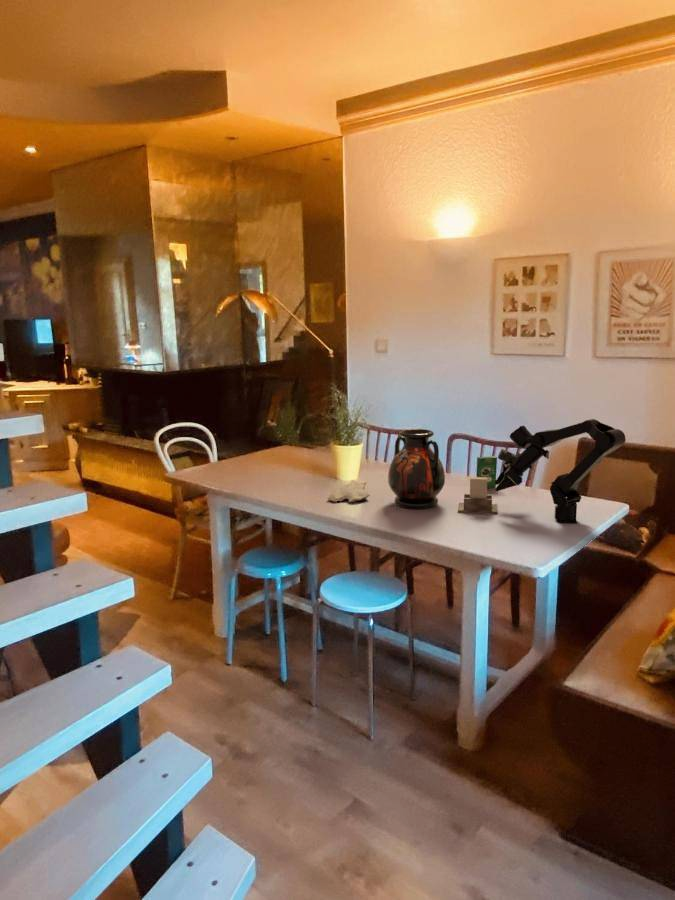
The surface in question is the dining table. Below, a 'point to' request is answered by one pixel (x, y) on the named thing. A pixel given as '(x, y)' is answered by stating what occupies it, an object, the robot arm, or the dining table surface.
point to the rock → (350, 492)
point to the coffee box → (487, 469)
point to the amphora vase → (416, 470)
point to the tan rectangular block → (478, 487)
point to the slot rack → (477, 505)
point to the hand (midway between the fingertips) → (495, 487)
